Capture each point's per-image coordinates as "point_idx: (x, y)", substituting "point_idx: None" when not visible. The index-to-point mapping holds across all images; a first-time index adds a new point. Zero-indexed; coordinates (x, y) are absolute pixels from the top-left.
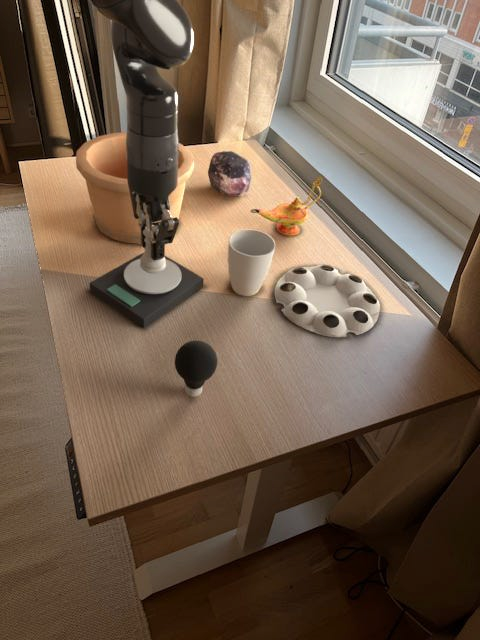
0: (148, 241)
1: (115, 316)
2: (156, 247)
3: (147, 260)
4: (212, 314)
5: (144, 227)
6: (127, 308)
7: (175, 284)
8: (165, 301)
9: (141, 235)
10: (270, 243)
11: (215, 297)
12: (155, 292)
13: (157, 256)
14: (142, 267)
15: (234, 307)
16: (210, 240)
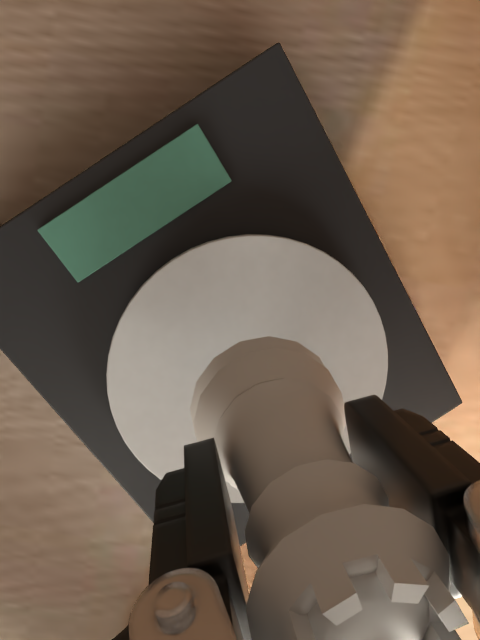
0: (285, 500)
1: (64, 150)
2: (153, 566)
3: (233, 398)
4: (24, 543)
5: (458, 531)
6: (31, 206)
7: (151, 467)
8: (60, 397)
9: (412, 444)
10: None
11: (125, 568)
12: (107, 367)
13: (158, 501)
14: (244, 347)
15: (55, 621)
16: (457, 601)
